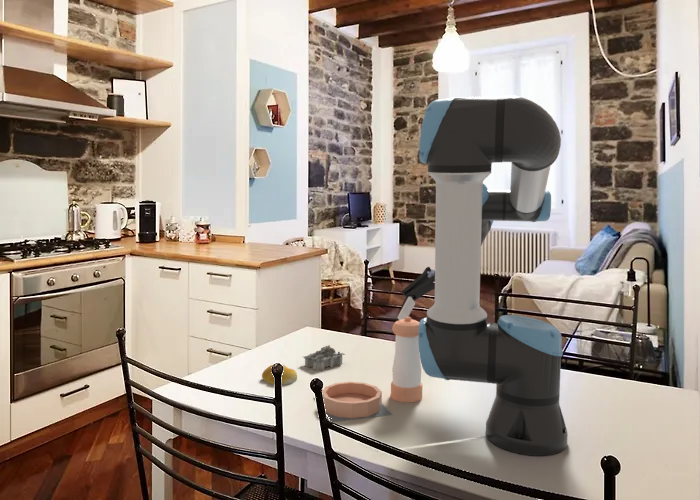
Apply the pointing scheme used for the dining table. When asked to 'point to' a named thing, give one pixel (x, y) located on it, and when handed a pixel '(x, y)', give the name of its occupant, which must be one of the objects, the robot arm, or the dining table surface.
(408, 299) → the robot arm
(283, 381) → the bread roll
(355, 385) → the dish
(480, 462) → the dining table surface
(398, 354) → the pepper shaker
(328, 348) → the egg carton
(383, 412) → the mat
